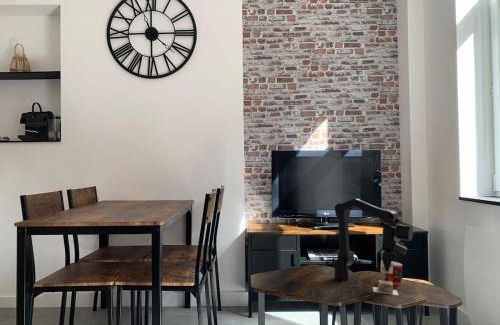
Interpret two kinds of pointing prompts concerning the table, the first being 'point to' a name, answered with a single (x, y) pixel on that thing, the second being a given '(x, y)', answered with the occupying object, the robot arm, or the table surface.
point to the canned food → (395, 274)
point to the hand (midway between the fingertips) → (386, 269)
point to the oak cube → (384, 268)
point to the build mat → (383, 292)
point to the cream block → (385, 286)
